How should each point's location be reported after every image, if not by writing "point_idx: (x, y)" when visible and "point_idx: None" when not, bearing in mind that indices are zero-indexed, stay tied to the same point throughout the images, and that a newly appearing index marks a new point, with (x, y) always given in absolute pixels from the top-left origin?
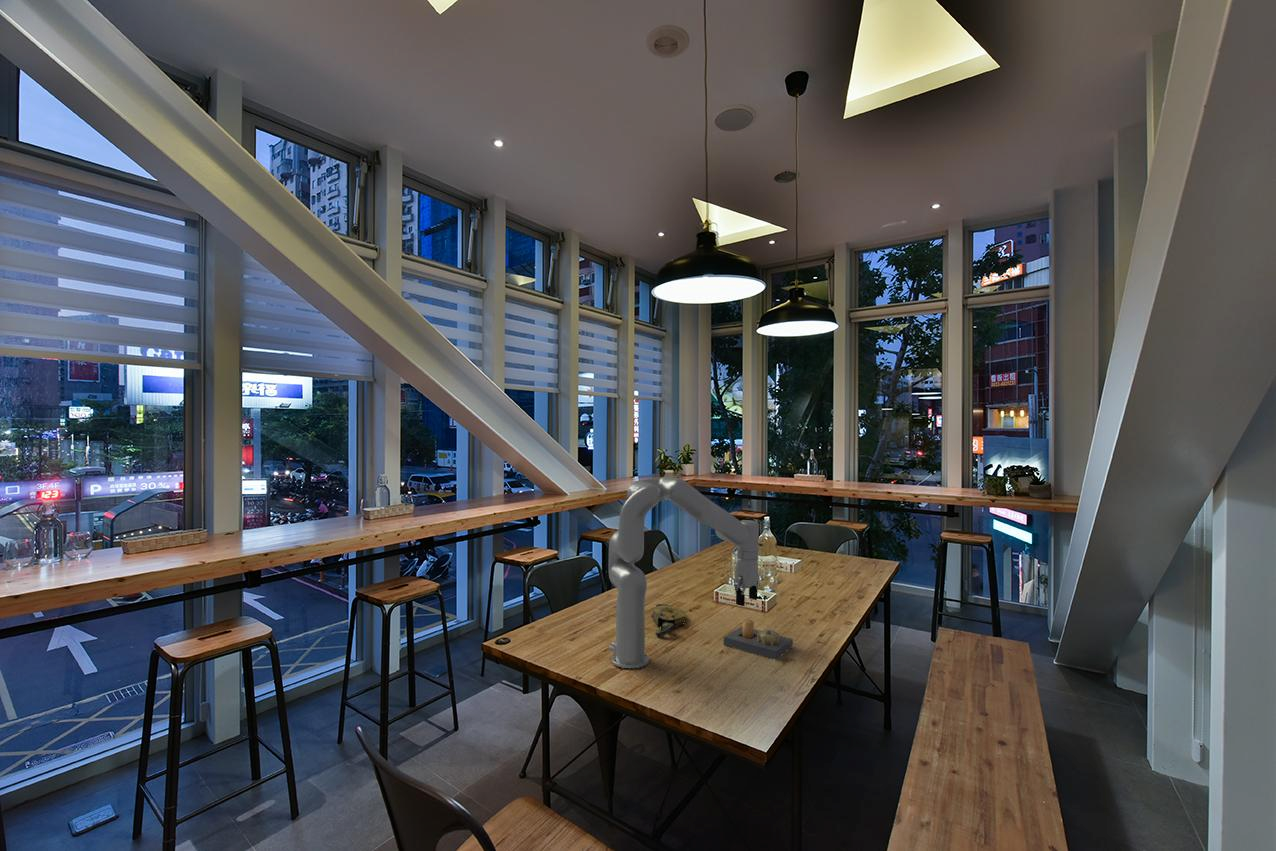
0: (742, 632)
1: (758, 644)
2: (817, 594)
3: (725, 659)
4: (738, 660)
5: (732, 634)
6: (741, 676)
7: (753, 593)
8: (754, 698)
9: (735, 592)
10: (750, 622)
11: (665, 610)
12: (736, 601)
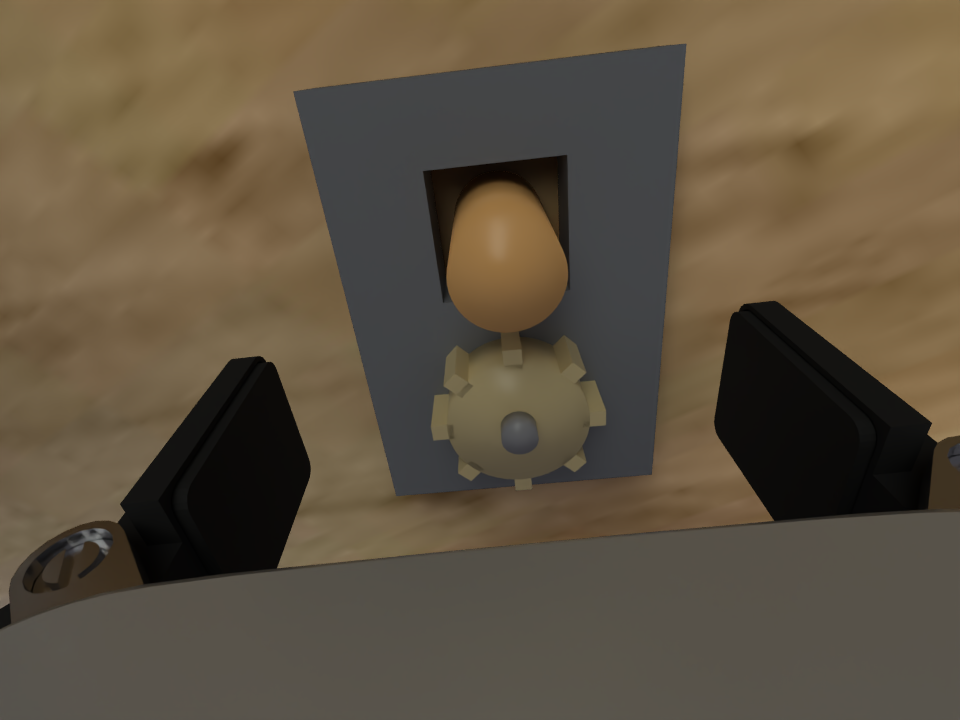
0: (465, 206)
1: (402, 385)
2: None
3: (145, 266)
4: (215, 331)
5: (410, 118)
6: (90, 446)
7: (772, 456)
8: (16, 567)
9: (27, 559)
10: (500, 311)
11: None
12: (219, 389)
